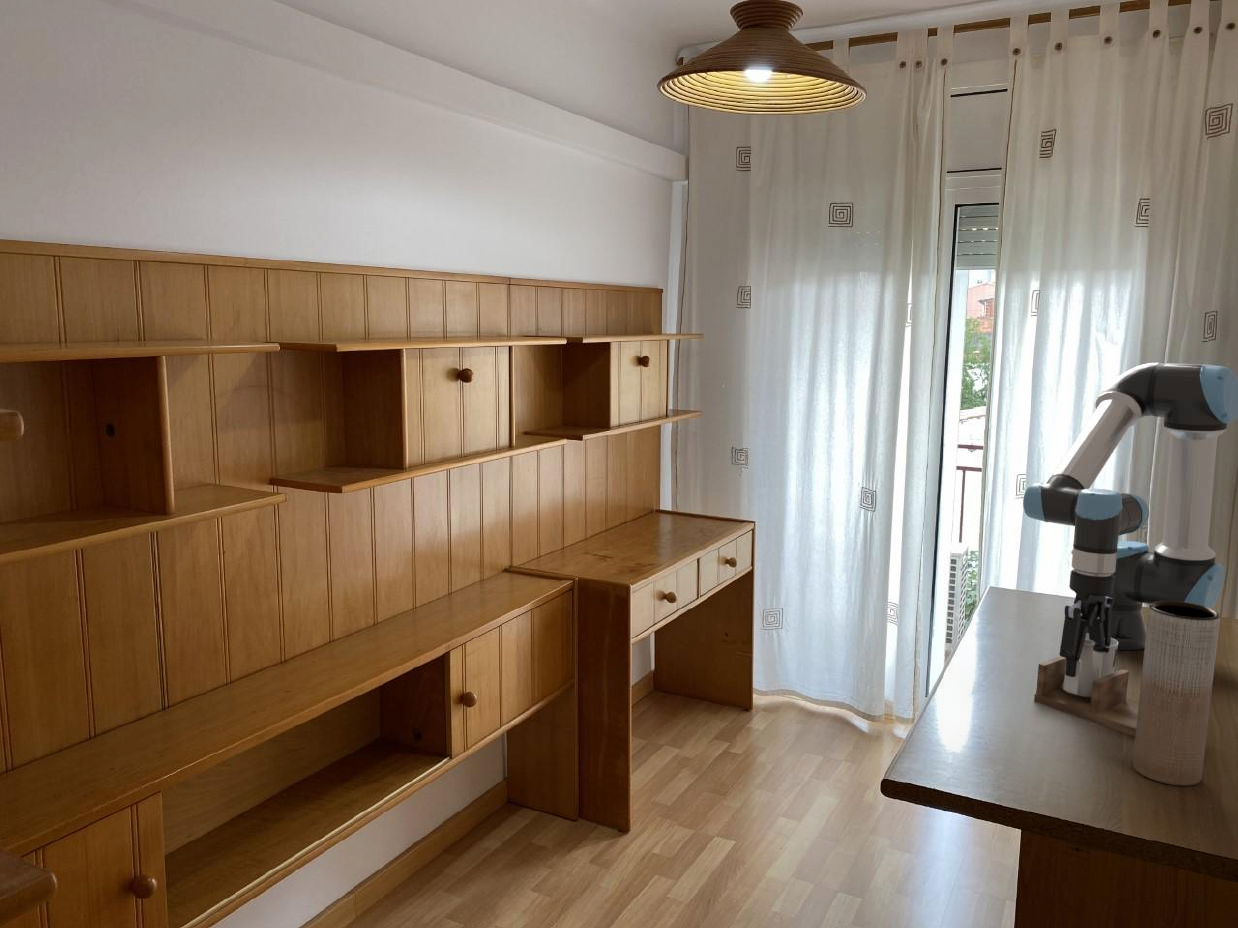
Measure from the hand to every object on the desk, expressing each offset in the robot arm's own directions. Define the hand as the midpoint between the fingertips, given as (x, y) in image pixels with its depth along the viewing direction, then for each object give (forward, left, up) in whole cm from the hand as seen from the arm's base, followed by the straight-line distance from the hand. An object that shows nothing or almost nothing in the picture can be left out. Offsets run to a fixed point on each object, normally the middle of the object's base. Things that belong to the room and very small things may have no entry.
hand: (1081, 687), depth 188 cm
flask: (0, 0, -1) cm, 1 cm away
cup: (-11, -4, -4) cm, 12 cm away
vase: (+16, +23, -4) cm, 29 cm away
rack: (0, +5, -4) cm, 6 cm away
